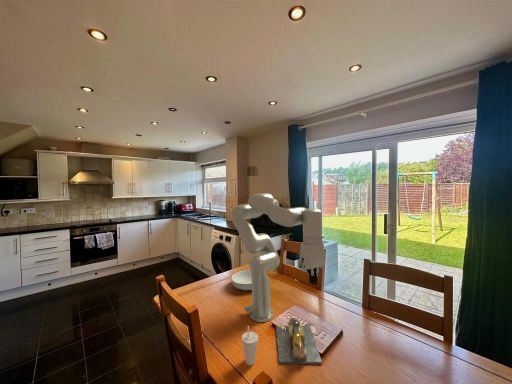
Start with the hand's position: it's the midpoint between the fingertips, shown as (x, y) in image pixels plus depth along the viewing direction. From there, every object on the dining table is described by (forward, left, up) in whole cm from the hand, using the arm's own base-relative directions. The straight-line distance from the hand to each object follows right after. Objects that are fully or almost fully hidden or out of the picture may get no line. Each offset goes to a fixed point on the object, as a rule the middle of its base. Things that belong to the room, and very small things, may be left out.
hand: (313, 283), depth 86 cm
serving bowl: (-32, +53, -27) cm, 68 cm away
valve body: (-7, +2, -27) cm, 28 cm away
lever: (-7, -3, -21) cm, 22 cm away
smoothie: (-26, -7, -27) cm, 38 cm away
